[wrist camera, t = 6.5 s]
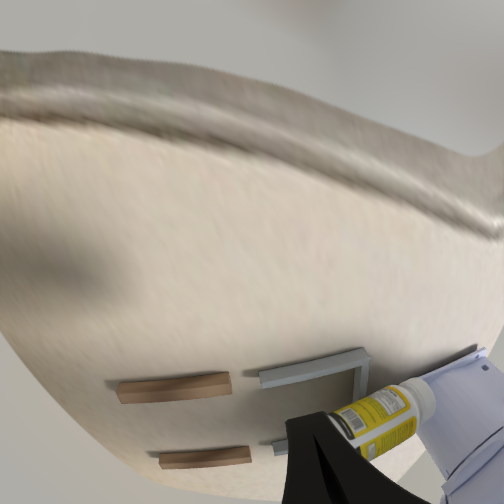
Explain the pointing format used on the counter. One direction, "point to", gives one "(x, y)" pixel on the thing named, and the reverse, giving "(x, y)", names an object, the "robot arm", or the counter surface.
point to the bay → (318, 369)
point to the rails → (185, 391)
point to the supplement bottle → (385, 417)
